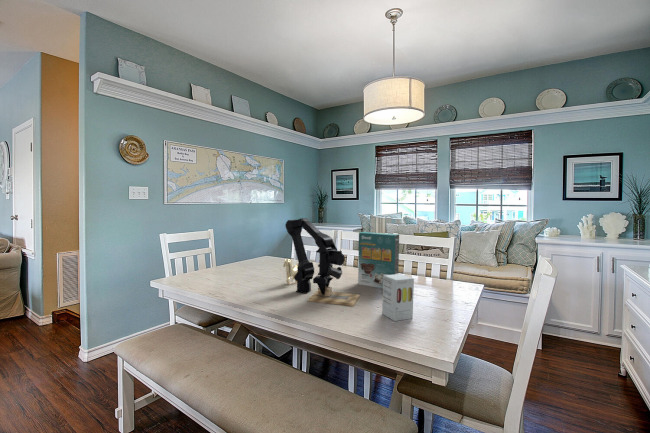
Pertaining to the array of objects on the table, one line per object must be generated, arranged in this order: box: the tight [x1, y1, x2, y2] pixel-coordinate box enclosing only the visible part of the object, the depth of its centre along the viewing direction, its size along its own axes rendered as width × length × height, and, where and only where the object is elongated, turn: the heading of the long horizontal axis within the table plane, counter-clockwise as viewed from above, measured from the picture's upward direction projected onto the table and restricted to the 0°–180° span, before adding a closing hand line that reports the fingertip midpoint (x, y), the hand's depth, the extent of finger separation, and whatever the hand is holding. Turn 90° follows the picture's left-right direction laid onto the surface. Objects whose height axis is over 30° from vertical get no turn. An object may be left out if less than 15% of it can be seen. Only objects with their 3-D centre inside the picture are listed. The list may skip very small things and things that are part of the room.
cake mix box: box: [357, 231, 400, 289], centre depth 175 cm, size 22×6×30 cm, turn 58°
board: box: [307, 290, 360, 307], centre depth 151 cm, size 22×14×1 cm, turn 73°
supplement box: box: [381, 273, 415, 322], centre depth 129 cm, size 10×9×17 cm
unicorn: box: [282, 259, 298, 286], centre depth 177 cm, size 20×4×17 cm, turn 156°
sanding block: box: [317, 286, 333, 297], centre depth 152 cm, size 6×4×4 cm, turn 72°
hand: (324, 293), depth 153 cm, fingers closed on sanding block, 4 cm apart
